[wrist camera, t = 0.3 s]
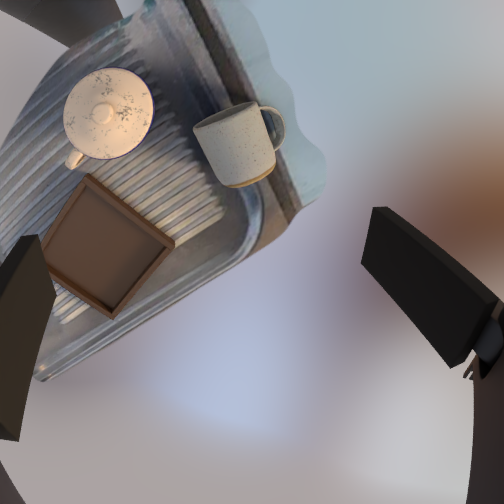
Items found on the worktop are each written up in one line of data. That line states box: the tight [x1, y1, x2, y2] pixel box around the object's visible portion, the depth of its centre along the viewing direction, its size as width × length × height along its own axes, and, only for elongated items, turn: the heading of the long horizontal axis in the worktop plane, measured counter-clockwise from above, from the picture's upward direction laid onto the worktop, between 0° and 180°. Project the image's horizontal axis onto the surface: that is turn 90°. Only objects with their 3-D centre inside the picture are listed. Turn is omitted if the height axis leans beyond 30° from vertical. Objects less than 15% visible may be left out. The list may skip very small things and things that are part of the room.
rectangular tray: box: [41, 173, 175, 320], centre depth 39 cm, size 15×15×2 cm
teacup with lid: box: [63, 67, 155, 170], centre depth 28 cm, size 12×9×12 cm
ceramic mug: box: [193, 101, 285, 188], centre depth 35 cm, size 11×8×8 cm
